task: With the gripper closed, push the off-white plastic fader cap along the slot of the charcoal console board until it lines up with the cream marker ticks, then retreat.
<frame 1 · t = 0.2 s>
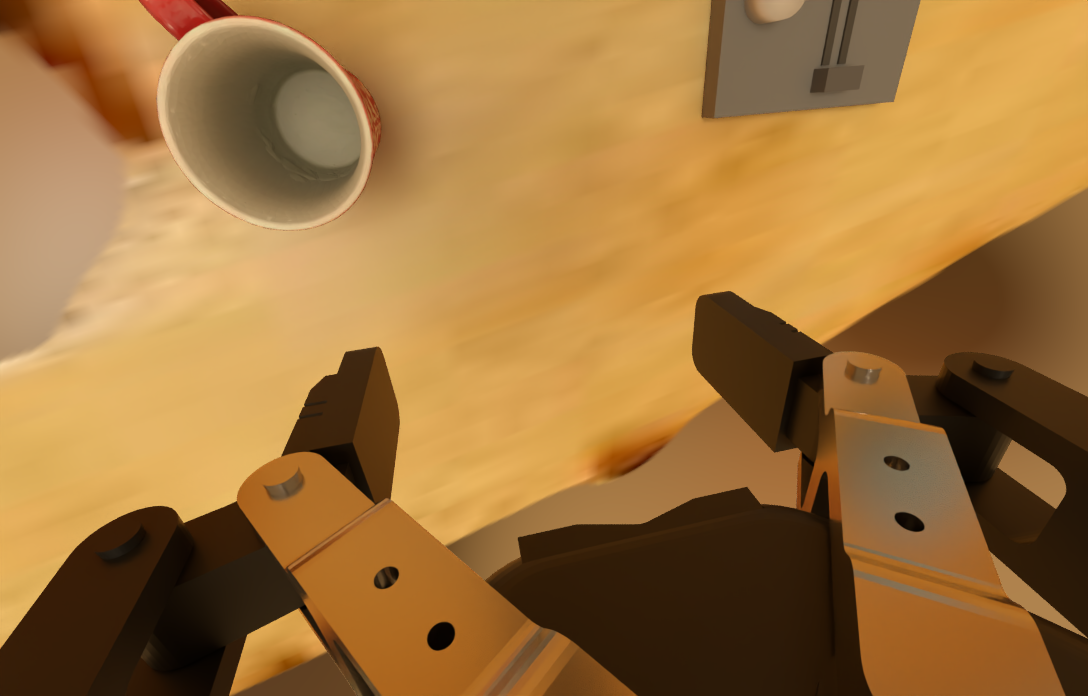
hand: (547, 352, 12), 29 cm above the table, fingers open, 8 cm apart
mug: (311, 96, 32), on the table
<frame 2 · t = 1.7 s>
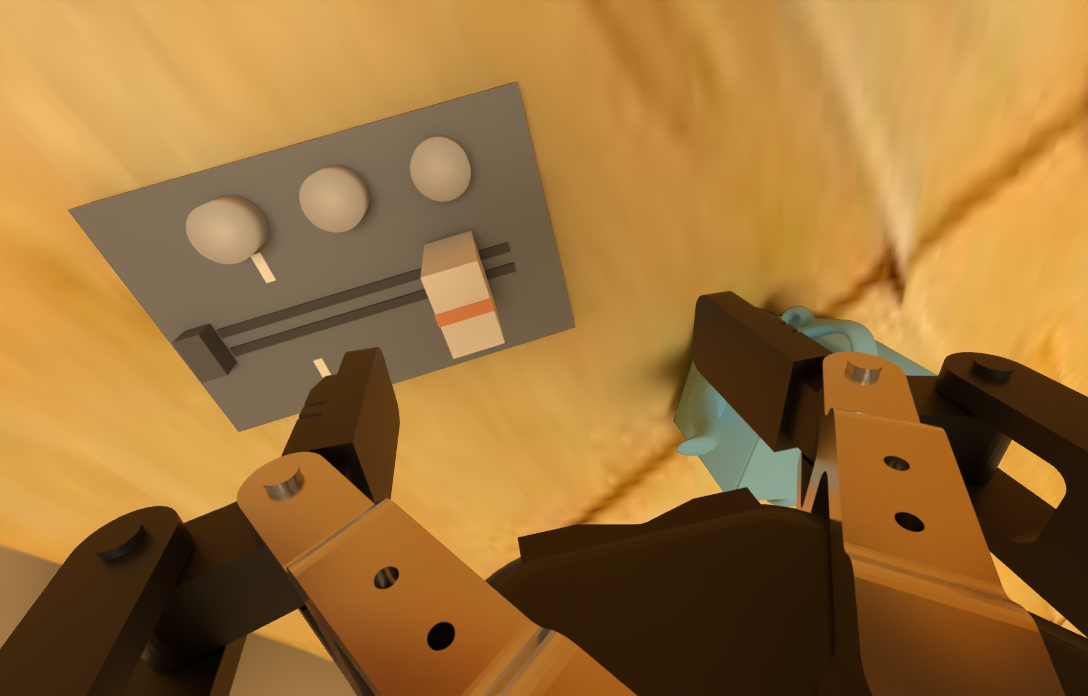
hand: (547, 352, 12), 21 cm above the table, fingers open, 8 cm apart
fader: (462, 292, 27), point 6 cm above the table, slide at -6.0 cm
console: (366, 267, 31), on the table
teapot: (713, 359, 41), on the table
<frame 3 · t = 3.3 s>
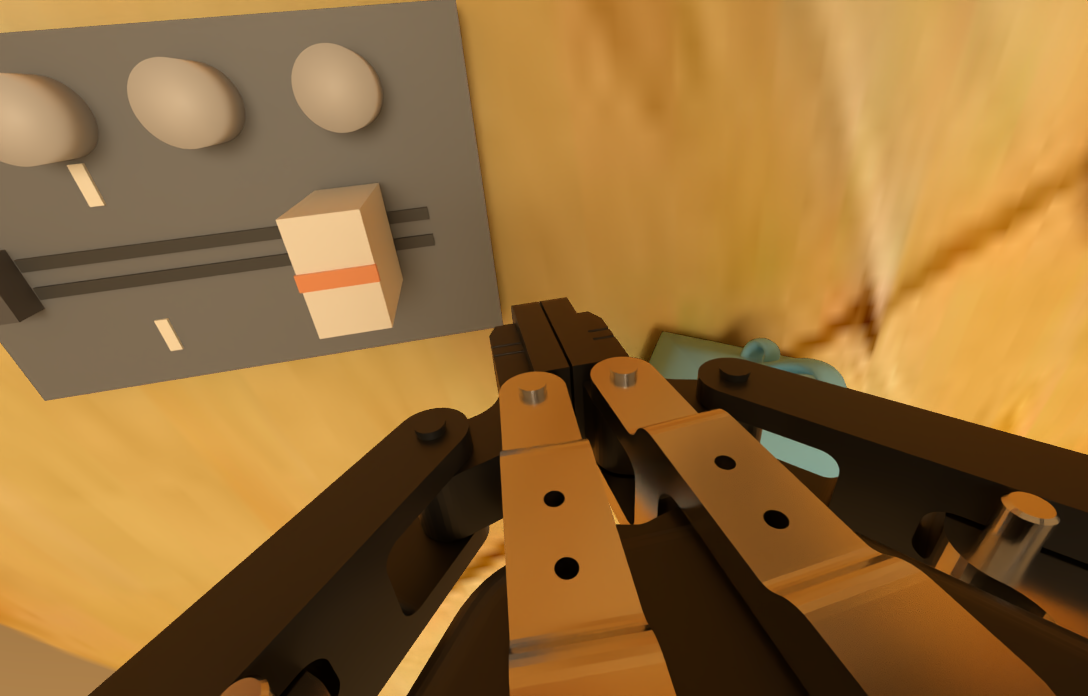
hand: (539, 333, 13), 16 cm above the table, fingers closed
fader: (351, 255, 21), point 6 cm above the table, slide at -6.0 cm
console: (243, 212, 24), on the table
teapot: (662, 387, 36), on the table
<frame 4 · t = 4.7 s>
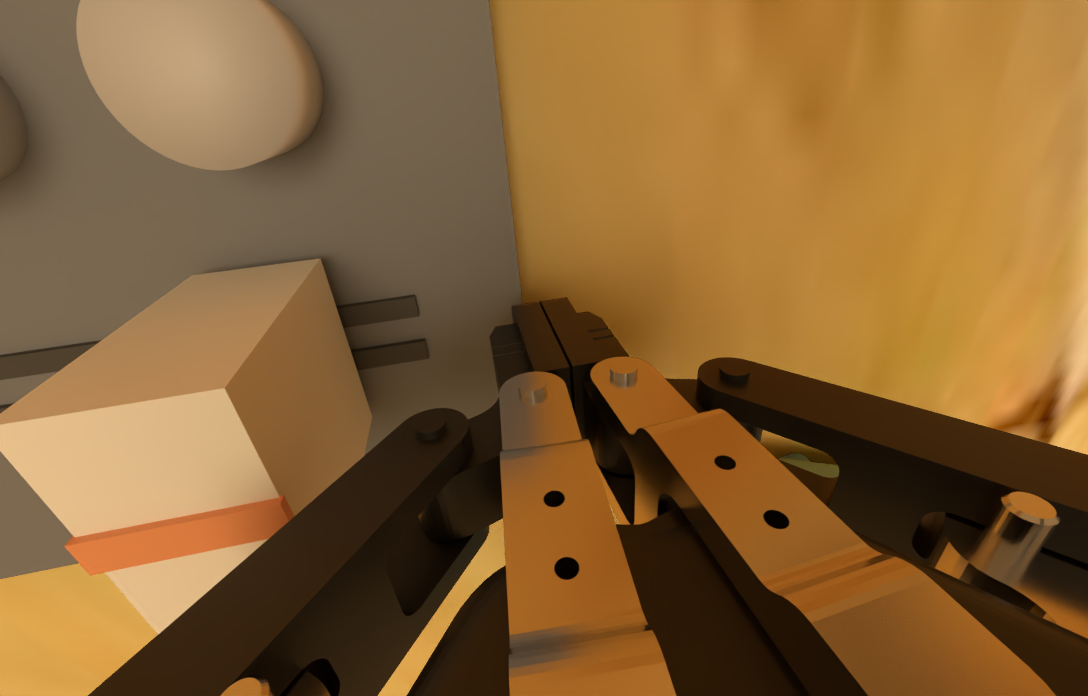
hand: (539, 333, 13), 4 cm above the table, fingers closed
fader: (252, 422, 10), point 6 cm above the table, slide at -6.0 cm
console: (78, 301, 13), on the table
teapot: (757, 516, 25), on the table
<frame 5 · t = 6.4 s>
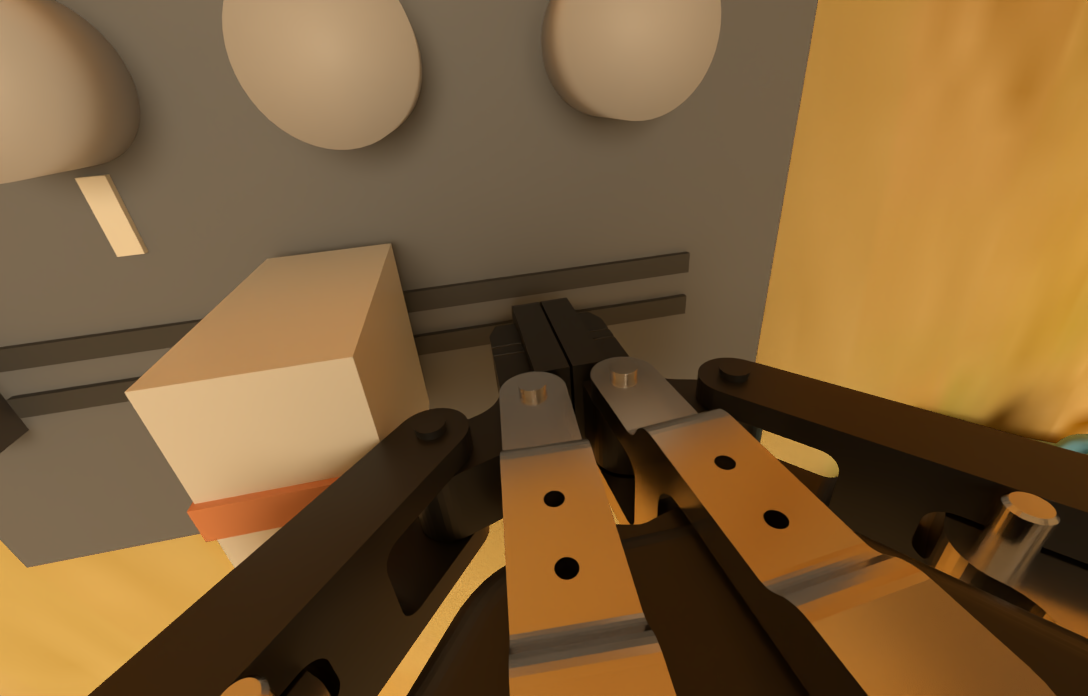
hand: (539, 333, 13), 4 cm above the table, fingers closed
fader: (335, 400, 10), point 6 cm above the table, slide at 0.5 cm, touching hand
console: (371, 257, 14), on the table
teapot: (890, 484, 26), on the table
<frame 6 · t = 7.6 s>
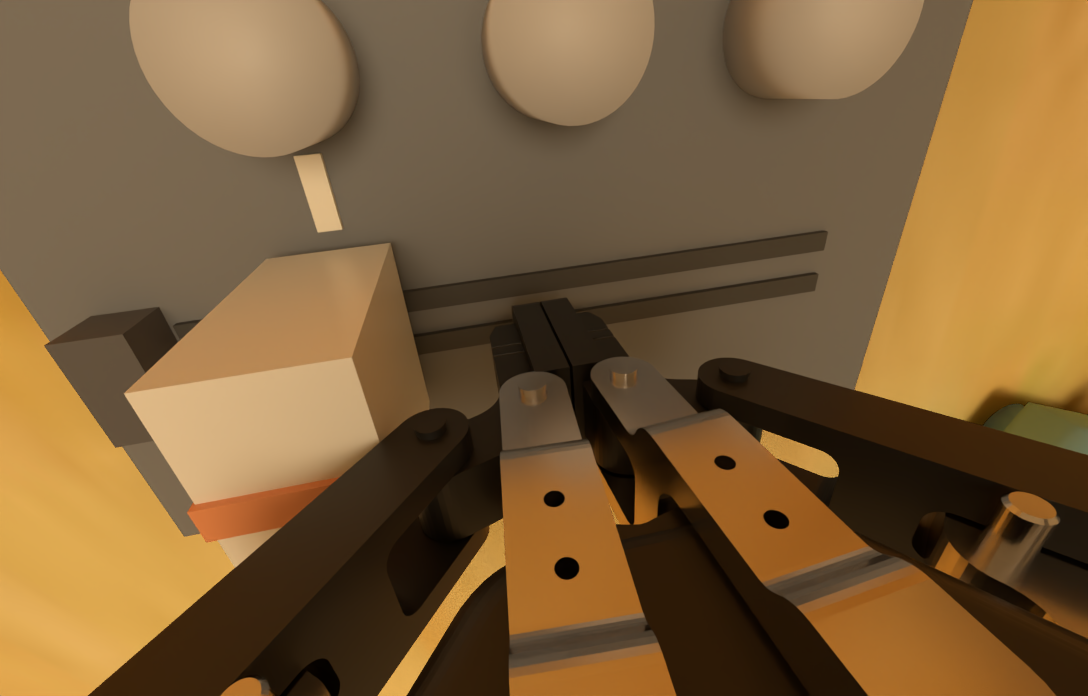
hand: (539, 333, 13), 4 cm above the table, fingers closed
fader: (335, 400, 10), point 6 cm above the table, slide at 5.1 cm, touching hand
console: (517, 237, 15), on the table
teapot: (963, 466, 26), on the table
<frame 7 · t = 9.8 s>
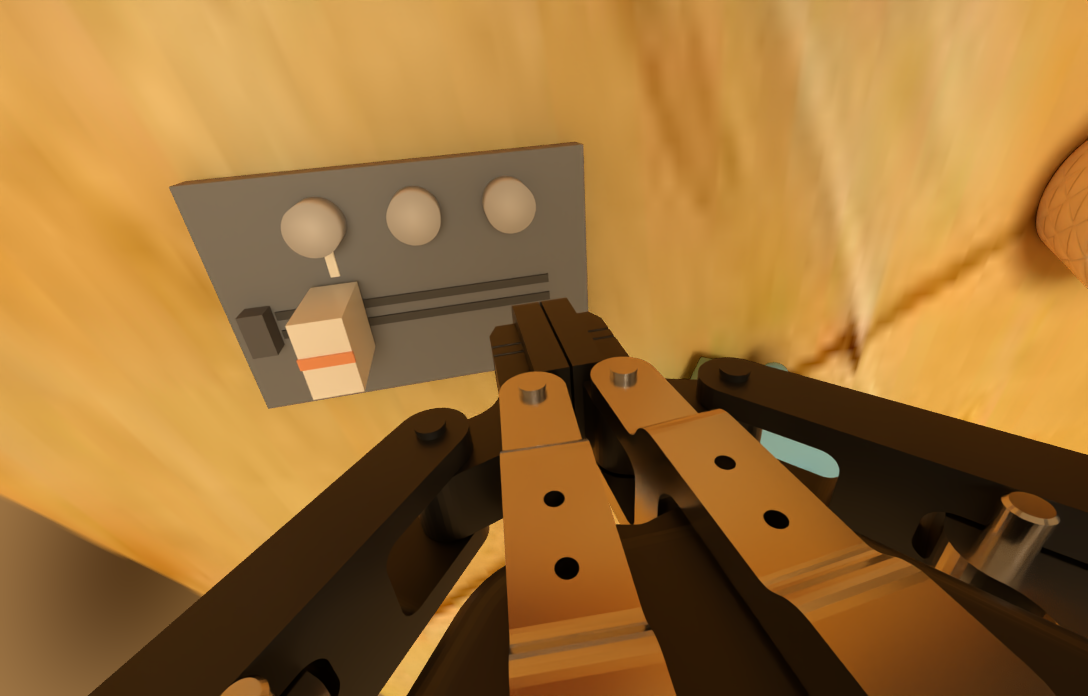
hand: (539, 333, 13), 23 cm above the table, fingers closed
fader: (336, 338, 30), point 6 cm above the table, slide at 5.2 cm
console: (416, 275, 34), on the table
vase: (1086, 188, 44), on the table
teapot: (696, 398, 46), on the table
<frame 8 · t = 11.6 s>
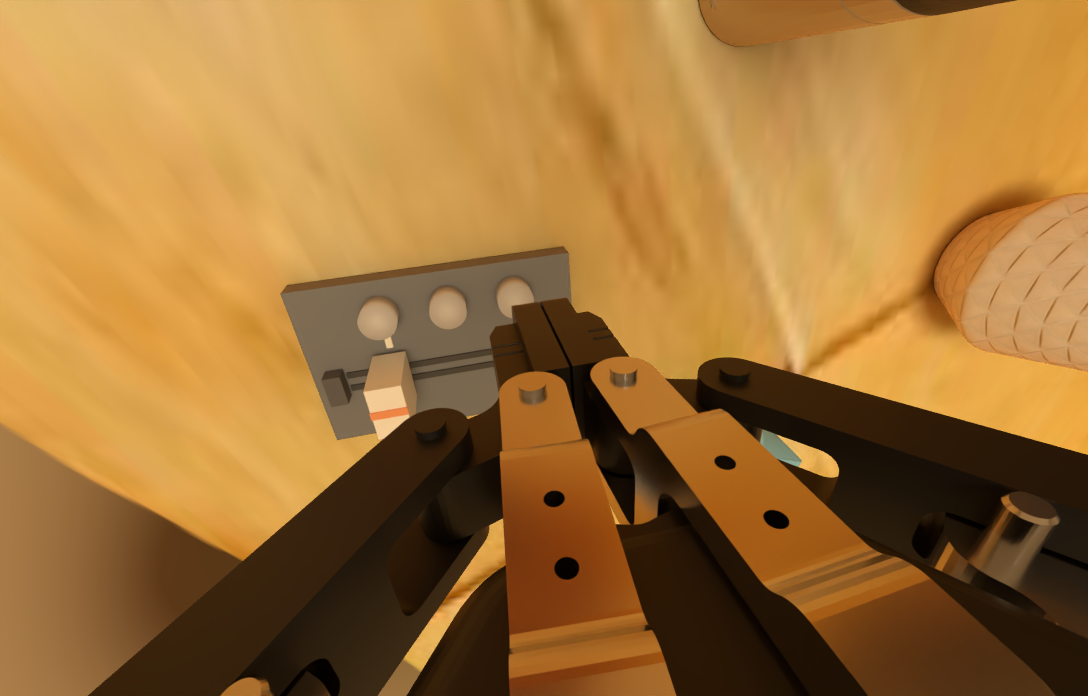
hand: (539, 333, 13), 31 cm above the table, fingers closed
fader: (392, 394, 42), point 6 cm above the table, slide at 5.2 cm
console: (446, 341, 46), on the table
vase: (974, 259, 55), on the table
teapot: (664, 425, 58), on the table
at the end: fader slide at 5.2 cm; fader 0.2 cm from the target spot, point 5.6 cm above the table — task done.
